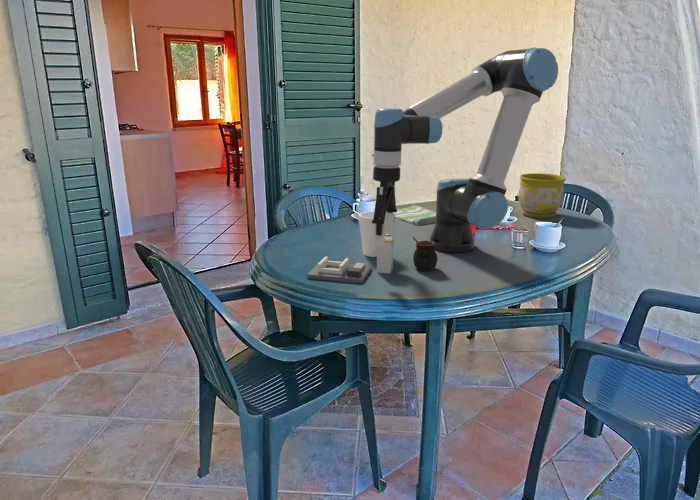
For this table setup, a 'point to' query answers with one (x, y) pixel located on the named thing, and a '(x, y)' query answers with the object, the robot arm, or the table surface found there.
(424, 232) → the table surface
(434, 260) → the mate gourd
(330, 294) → the table surface
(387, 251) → the plug
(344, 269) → the board
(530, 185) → the flowerpot
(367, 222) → the foam cup
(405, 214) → the dish towel
